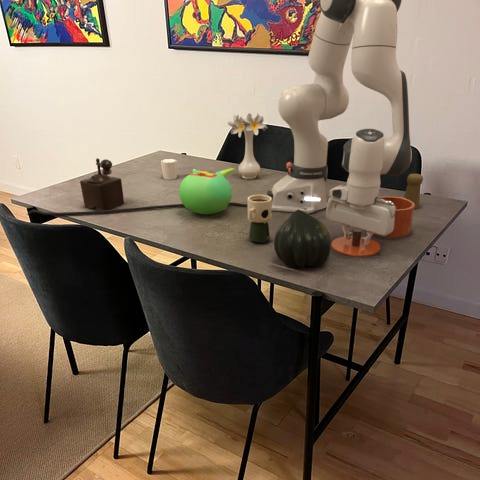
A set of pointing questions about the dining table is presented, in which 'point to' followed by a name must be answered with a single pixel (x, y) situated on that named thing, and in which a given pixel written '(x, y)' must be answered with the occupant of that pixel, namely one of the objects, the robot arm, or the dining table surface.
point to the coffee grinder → (102, 189)
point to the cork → (413, 188)
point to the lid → (355, 245)
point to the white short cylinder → (169, 168)
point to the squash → (302, 241)
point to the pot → (401, 216)
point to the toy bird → (206, 191)
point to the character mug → (259, 217)
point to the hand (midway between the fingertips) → (356, 241)
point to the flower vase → (248, 142)
